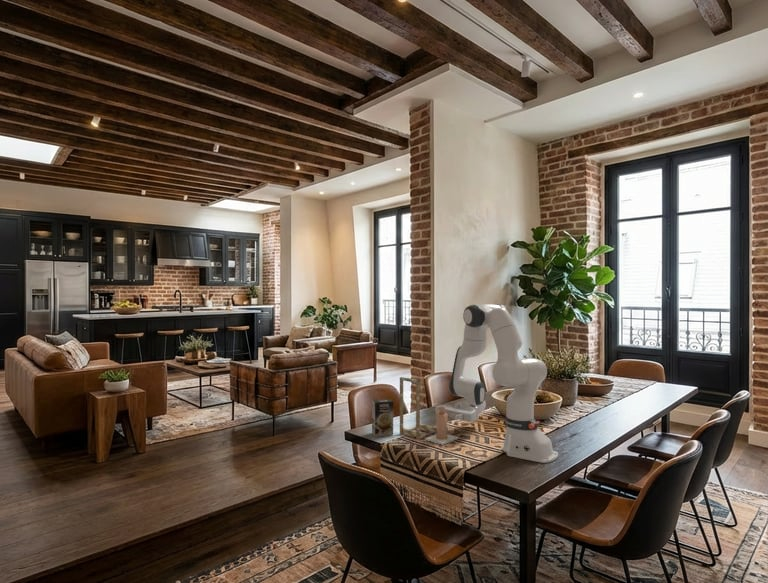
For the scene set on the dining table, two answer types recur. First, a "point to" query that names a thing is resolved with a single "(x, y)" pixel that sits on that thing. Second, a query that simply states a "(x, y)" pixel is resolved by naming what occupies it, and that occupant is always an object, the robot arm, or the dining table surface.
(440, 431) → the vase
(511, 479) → the dining table surface
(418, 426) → the rack
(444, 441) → the coaster
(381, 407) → the coffee box
